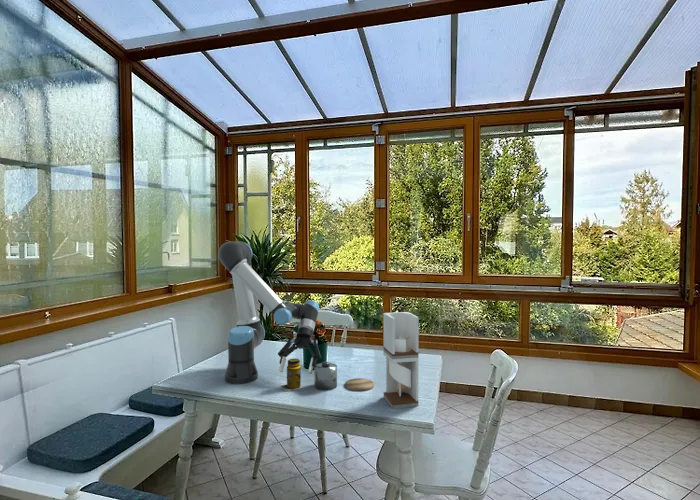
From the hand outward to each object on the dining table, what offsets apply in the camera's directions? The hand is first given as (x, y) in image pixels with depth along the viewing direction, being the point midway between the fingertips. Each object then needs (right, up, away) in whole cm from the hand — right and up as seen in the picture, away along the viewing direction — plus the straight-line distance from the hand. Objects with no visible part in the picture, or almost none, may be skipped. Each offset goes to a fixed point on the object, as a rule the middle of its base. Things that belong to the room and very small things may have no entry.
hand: (295, 372), depth 180 cm
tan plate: (+29, -6, 0) cm, 29 cm away
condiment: (-1, -6, -1) cm, 7 cm away
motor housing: (+14, -6, -1) cm, 15 cm away
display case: (+45, -7, -17) cm, 49 cm away
